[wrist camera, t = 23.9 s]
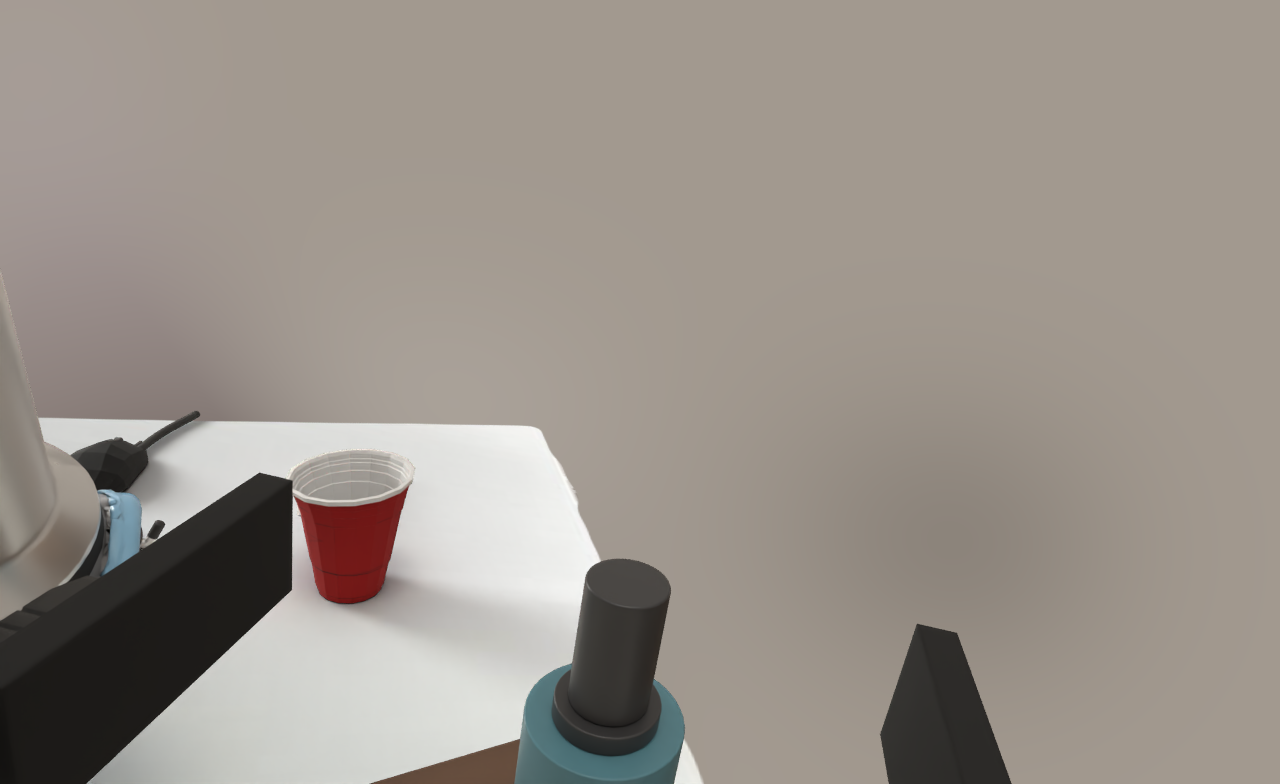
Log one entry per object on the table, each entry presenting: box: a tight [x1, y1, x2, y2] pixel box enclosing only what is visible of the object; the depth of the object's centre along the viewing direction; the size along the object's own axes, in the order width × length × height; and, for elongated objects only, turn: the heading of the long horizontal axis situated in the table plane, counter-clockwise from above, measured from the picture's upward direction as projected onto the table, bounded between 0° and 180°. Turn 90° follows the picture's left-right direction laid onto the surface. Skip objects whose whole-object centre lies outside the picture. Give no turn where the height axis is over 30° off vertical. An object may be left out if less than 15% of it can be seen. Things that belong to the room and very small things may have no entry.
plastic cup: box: [285, 449, 415, 603], centre depth 71 cm, size 11×11×12 cm
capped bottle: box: [514, 559, 685, 784], centre depth 30 cm, size 6×6×18 cm
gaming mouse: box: [70, 437, 148, 493], centre depth 84 cm, size 6×15×4 cm, turn 9°
